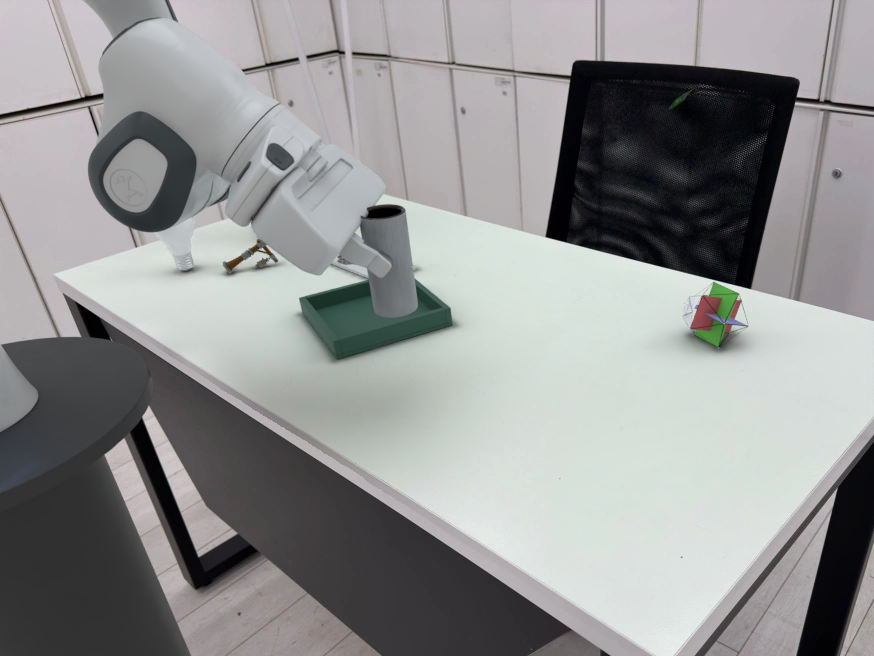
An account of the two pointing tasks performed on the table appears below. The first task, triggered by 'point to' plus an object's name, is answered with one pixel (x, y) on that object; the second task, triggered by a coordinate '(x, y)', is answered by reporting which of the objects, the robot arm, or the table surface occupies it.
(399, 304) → the planter
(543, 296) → the table surface
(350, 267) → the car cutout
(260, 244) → the wooden post with brackets
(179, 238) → the lightbulb
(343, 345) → the tray
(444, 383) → the table surface
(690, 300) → the geometric puzzle
